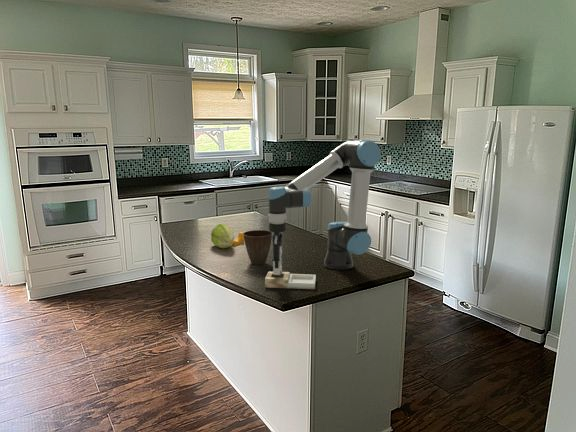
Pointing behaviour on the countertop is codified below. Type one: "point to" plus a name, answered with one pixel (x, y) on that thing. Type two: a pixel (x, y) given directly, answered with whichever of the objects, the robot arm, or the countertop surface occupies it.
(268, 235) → the plant pot
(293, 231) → the countertop surface
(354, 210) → the robot arm
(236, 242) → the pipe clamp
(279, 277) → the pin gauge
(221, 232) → the lettuce
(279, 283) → the beige square frame
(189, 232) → the countertop surface
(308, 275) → the tray
